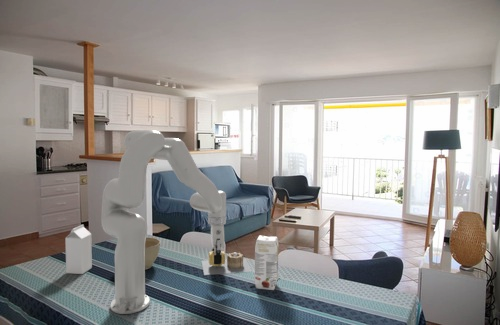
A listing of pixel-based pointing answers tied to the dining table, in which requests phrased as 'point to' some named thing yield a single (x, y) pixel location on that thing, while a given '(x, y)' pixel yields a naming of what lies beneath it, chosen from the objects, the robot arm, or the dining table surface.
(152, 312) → the dining table surface
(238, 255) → the beech gear
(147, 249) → the planter bowl
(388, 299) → the dining table surface
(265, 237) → the juice carton
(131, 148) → the robot arm
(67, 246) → the milk carton
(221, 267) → the gear board
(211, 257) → the ochre gear
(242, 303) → the dining table surface
